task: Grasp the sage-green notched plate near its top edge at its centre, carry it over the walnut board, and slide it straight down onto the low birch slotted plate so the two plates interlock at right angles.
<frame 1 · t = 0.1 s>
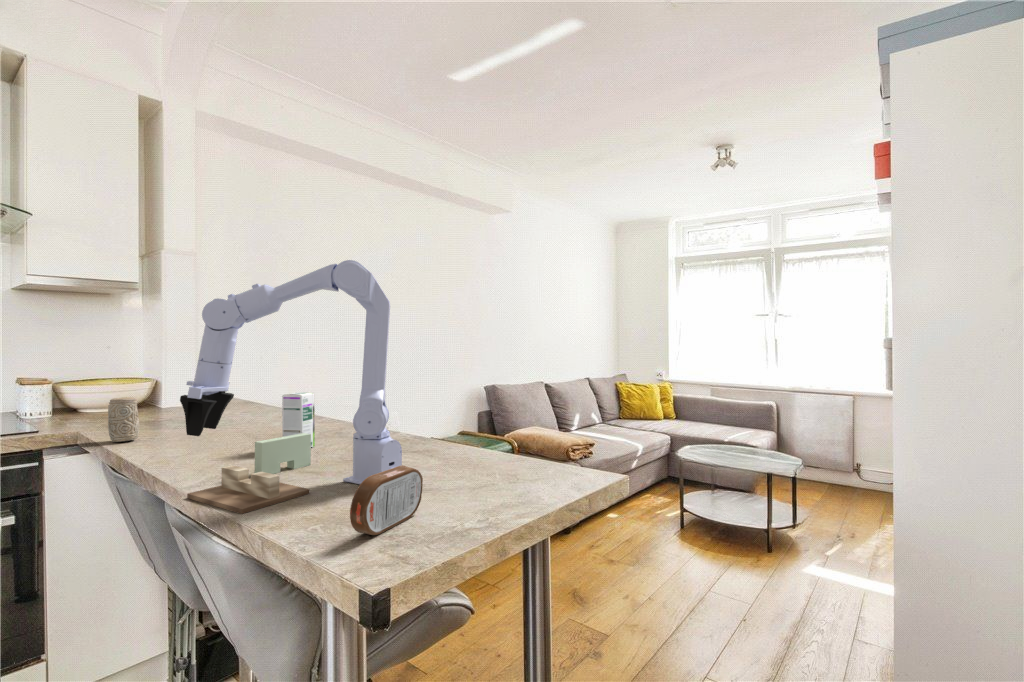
hand: (201, 431, 97), 11 cm above the table, tool pointing down, fingers open, 7 cm apart
carving: (123, 442, 139), on the table
sage plate: (283, 469, 110), on the table
tin: (390, 527, 77), on the table
syrup box: (298, 449, 131), on the table
slotted base: (249, 495, 91), on the table
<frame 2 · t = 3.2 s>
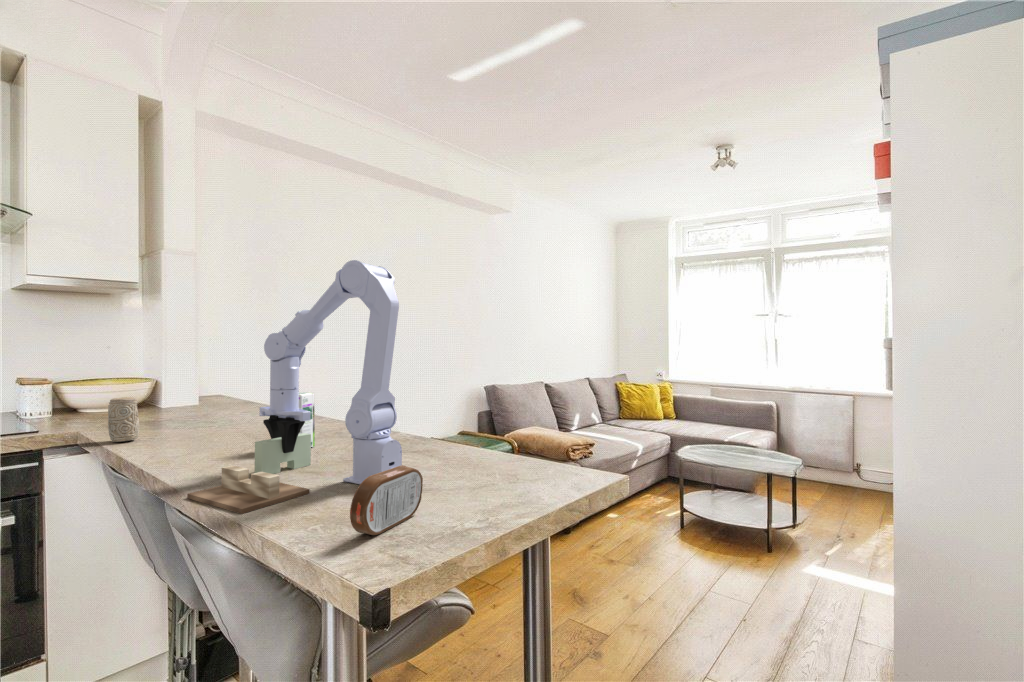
hand: (283, 451, 110), 4 cm above the table, tool pointing down, fingers closed on sage plate, 2 cm apart
sage plate: (283, 469, 110), on the table, touching gripper
everything else where it was.
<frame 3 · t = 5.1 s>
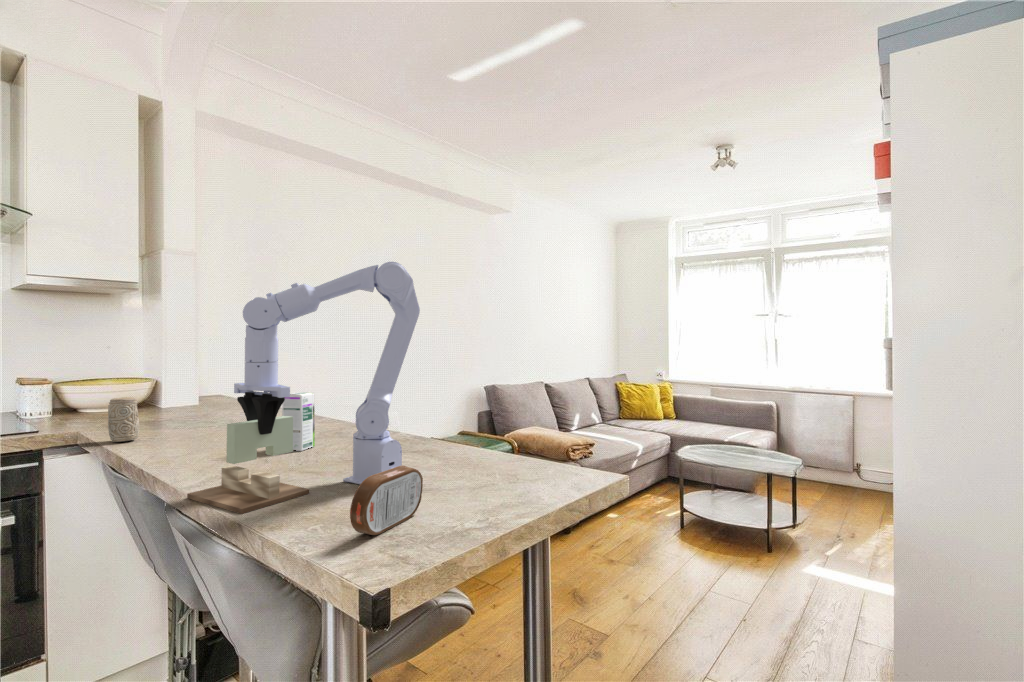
hand: (260, 433, 96), 10 cm above the table, tool pointing down, fingers closed on sage plate, 2 cm apart
sage plate: (261, 456, 96), point 6 cm above the table, touching gripper
everything else where it was.
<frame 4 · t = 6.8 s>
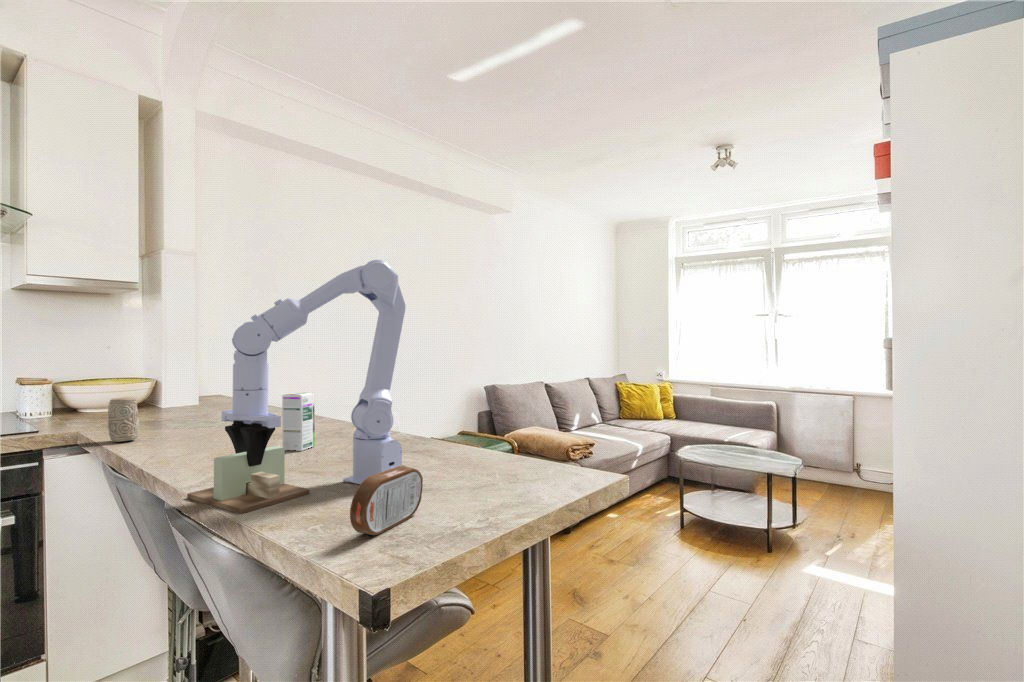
hand: (249, 464, 91), 6 cm above the table, tool pointing down, fingers closed on sage plate, 2 cm apart
sage plate: (250, 490, 91), point 1 cm above the table, touching gripper
everything else where it was.
when the fingers open (6 cm above the table, at t = 7.4 s): sage plate stays where it is, resting on slotted base.
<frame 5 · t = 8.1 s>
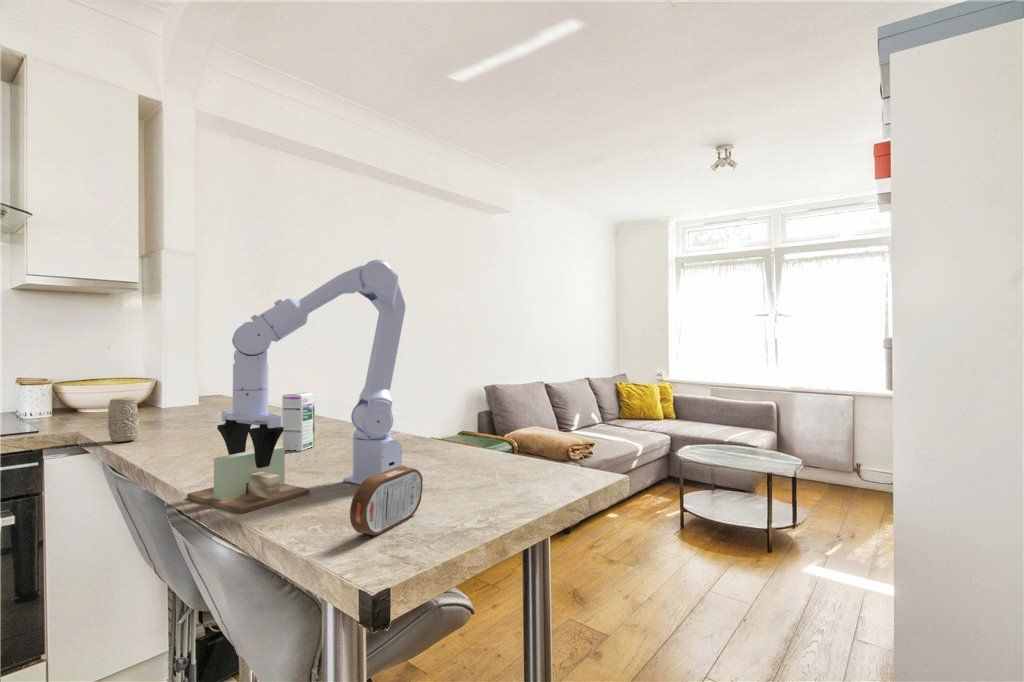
hand: (249, 464, 91), 6 cm above the table, tool pointing down, fingers open, 7 cm apart
sage plate: (250, 491, 91), point 1 cm above the table, touching slotted base
everything else where it was.
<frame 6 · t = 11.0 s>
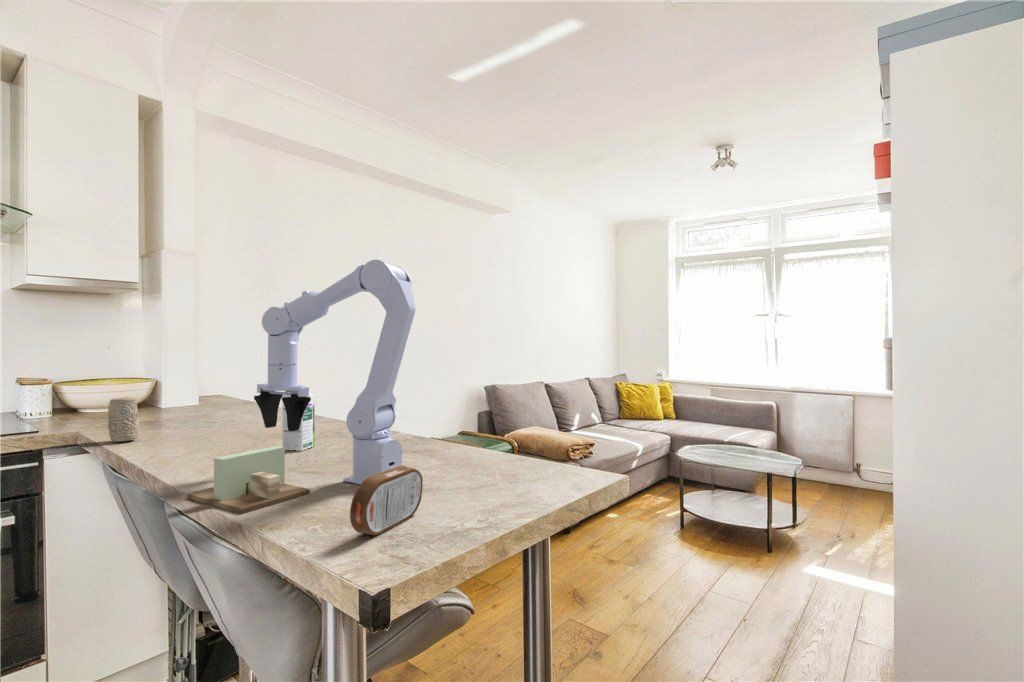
hand: (281, 428, 107), 9 cm above the table, tool pointing down, fingers open, 7 cm apart
nothing on the table moved.
at the end: sage plate 0.2 cm off-centre on the slotted base, point 0.8 cm above the slotted base's base; sage plate tilted 0°; the gripper is holding nothing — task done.
